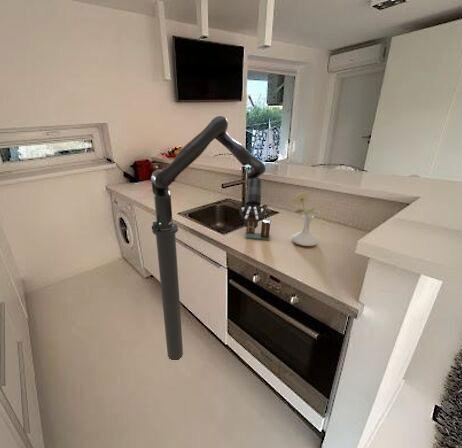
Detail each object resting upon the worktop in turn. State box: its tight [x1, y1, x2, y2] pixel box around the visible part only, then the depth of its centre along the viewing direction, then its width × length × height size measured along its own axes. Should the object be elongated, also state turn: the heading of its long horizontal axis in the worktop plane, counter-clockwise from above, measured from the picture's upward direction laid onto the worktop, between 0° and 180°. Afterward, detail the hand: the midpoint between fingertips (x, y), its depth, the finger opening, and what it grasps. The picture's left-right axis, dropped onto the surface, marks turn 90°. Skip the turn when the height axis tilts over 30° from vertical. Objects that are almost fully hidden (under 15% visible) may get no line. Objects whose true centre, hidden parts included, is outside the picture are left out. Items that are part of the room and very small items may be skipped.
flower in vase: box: [291, 191, 319, 247], centre depth 112 cm, size 13×11×25 cm
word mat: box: [245, 232, 270, 241], centre depth 125 cm, size 11×6×1 cm, turn 73°
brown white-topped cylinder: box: [260, 219, 271, 239], centre depth 122 cm, size 4×4×8 cm
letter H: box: [245, 216, 256, 235], centre depth 124 cm, size 4×4×8 cm
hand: (250, 226), depth 122 cm, fingers closed on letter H, 4 cm apart
